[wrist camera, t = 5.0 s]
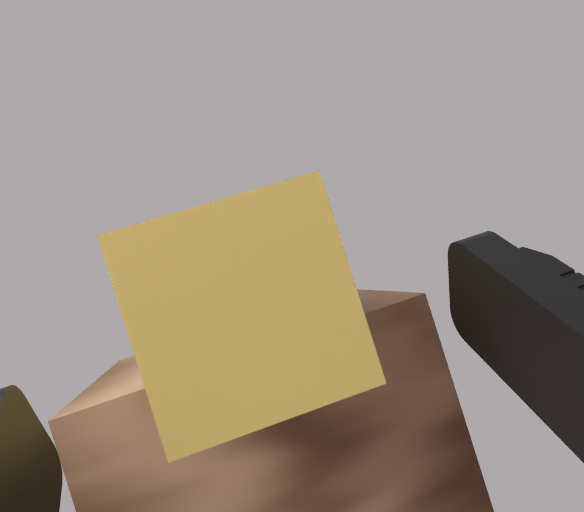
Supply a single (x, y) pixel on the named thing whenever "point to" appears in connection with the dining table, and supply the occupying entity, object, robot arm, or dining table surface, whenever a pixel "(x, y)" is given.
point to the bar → (241, 313)
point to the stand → (290, 441)
